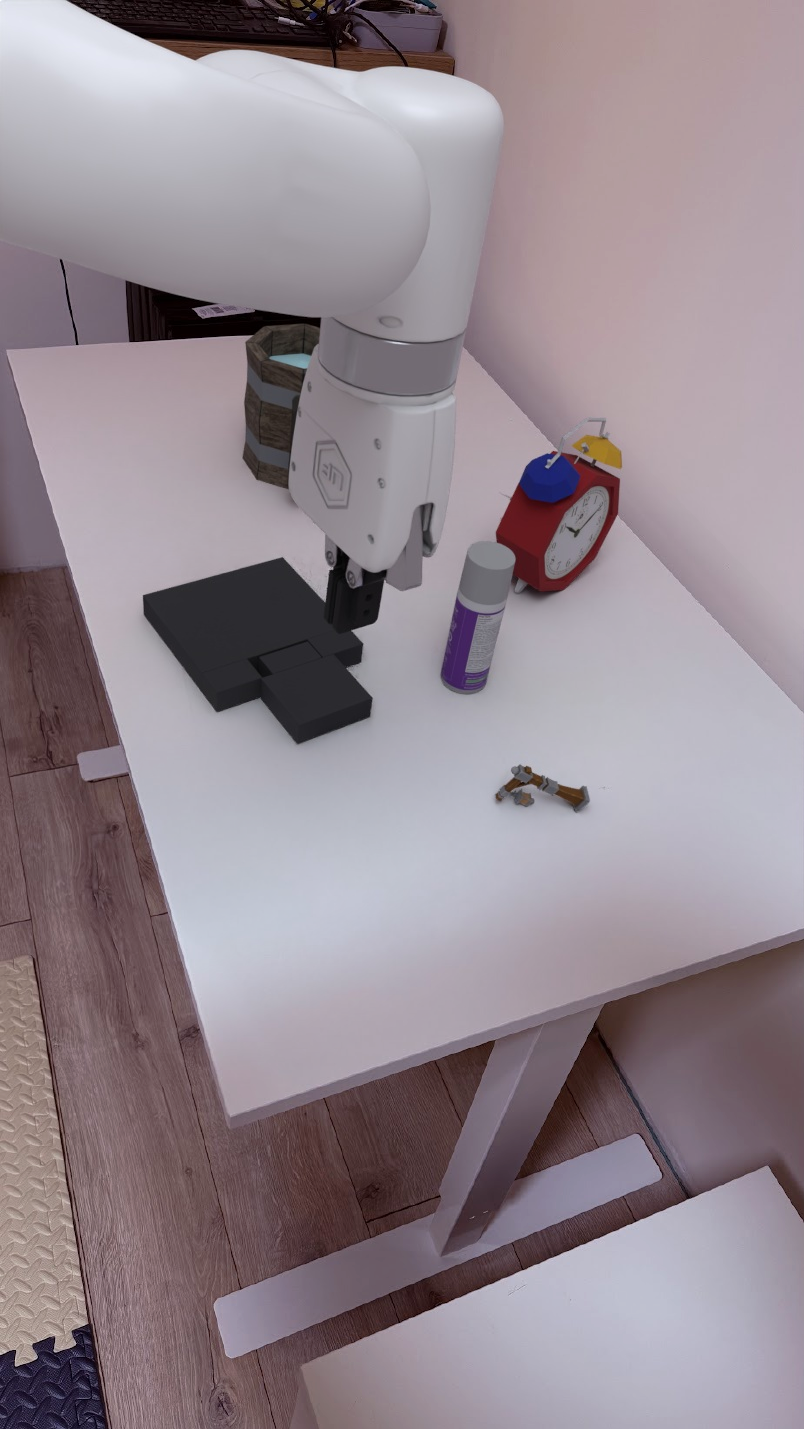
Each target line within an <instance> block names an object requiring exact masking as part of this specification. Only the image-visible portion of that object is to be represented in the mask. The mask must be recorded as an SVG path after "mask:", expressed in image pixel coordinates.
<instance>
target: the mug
mask: <svg viewBox="0 0 804 1429" xmlns="http://www.w3.org/2000/svg"><path fill="white" fill-rule="evenodd" d="M319 336H320V327H318V326H315V325H311V324H308V323H294V324H281V325H280V324H278V325H265V326H263V327H261V328H260V329H259V330H258V331H257V332H255V333H254V334H253V335H252V336H251V337H249V338H248V339H247V340H245V342H244V343H245V352H246V354H245V355H246V362H247V363H246V366H247V367H246V384H245V393H244V399H243V400H244V401H243V406H244V420H245V436H244V437H245V438H244V444H243V445H244V446H243V451H242V452H243V453H242V460H243V461H244V463H245V465H246V466H247V467H248V469H249V470H250V472H251V473H252V475H253V476H254V478H255V479H256V480H258V481H260V482H263V483H267V484H272V485H274V486H277V487H280V488H284V489H287V490H289V469H290V460H291V451H292V443H293V436H294V429H295V423H296V417H297V411H298V405H299V400H300V395H301V391H302V386H303V382H304V378H305V375H306V371H307V368H308V364H309V361H310V358H311V356H312V353H313V350H314V347H315V346H316V345H317V344H319Z"/></svg>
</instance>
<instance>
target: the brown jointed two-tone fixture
mask: <svg viewBox="0 0 804 1429" xmlns="http://www.w3.org/2000/svg"><path fill="white" fill-rule="evenodd" d="M510 772H511V774H512V775H513V777H512V778H511V779H510V780H509V781H508V782H507V783H505V784H503V785H502V786H501V787H500V788H499V790H498V791H497V792H496V793H495V795H494V796H495V800H496V801H499V802H502V801H503V800H504V799H505V798H508V797H509V796H511V798H512V799H514V800H515V805H518V804H521V805H523V806H525V808H527V807H528V806H529V805H533V804H534V803H535V798H533V797H532V793H531V792H525V791H523V788H522V787H525V786H530V785H533V786H534V787H536V788H537V790H538V791H541V792H543V793H546V794H549V795H550V796H554V795H555V796H556V797H559V798H561V799H563V800H564V801H567V802H568V803H570V804H571V805H573V810H574V812H577V813H579V812H580V811H581V810H583V808H584V807H586V806H587V805H588V804H589V803H590V802H591V797H590V794H589V791H588V790H589V789H588V787H587V785H581V786H580V787H579V788H575V787H571V786H567V785H562V784H560V783H558V781H557V780H554V779H551V778H550V777H549V776H546V775H543V774H542V775H539V774H537V773H535V772H533V769H532V767H531V766H529V765H525V766H524V765H522V764H521V763H520V764H518V765H517V766H512V767H511V769H510ZM518 788H520V789H519V790H518V791H517V790H516V789H518Z"/></svg>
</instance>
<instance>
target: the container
mask: <svg viewBox="0 0 804 1429" xmlns="http://www.w3.org/2000/svg"><path fill="white" fill-rule="evenodd" d="M515 560H516V559H515V555H514V553H513V552H512V551H511V550H510V549H509V548H507V547H506V546H504V545H502V544H499V543H497V541H489V540H481V541H477V542H474V543H472V544H470V545H469V546H468V548H467V551H466V554H465V560H464V563H463V567H462V570H461V576H460V580H459V585H458V588H457V592H456V597H455V600H454V606H453V612H452V616H451V621H450V624H449V625H450V626H449V629H448V630H449V631H448V636H447V641H446V645H445V649H444V656H443V660H442V665H441V670H440V680H441V682H442V684H443V685H444V686H445V687H446V688H447V689H449V690H450V691H453V692H455V693H459V694H462V695H471V694H476V693H479V692H480V691H482V690H483V689H484V688H485V687H486V684H487V681H488V677H489V673H490V670H491V669H490V668H491V665H492V661H493V656H494V652H495V649H496V645H497V641H498V638H499V633H500V629H501V625H502V622H503V618H504V613H505V610H506V605H507V601H508V597H509V592H510V587H511V582H512V578H513V575H514V574H513V569H514V565H515Z"/></svg>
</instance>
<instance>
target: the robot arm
mask: <svg viewBox="0 0 804 1429" xmlns="http://www.w3.org/2000/svg"><path fill="white" fill-rule="evenodd" d="M504 134H505V121H504V113H503V111H502V108H501V106H500V103H499V102H498V101H497V99H496V98H495V97H494V95H493V94H492V93H491V92H490V91H488V90H486V89H485V88H484V87H482V86H480V85H479V84H476V83H474V82H472V81H470V80H467V79H466V78H465V79H464V78H461V77H459V76H455V75H452V74H449V73H444V72H439V71H435V70H430V69H425V68H418V67H409V66H392V65H391V66H381V67H380V66H379V67H374V68H370V69H368V70H363V71H355V70H349V69H343V68H337V67H331V66H326V65H320V64H315V63H310V62H306V61H301V60H297V59H293V58H288V57H285V56H280V55H277V54H272V53H267V52H264V51H263V52H262V51H258V50H252V49H251V50H250V49H227V50H220V51H219V50H218V51H215V52H212V53H208V54H207V55H204V56H201V57H199V58H197V59H192V58H190V57H187V56H185V55H182V54H180V53H178V52H175V51H173V50H170V49H168V48H165V47H164V46H161V45H158V44H156V43H153V42H151V41H149V40H147V39H144V38H142V37H140V36H138V35H135V34H134V33H131V32H130V31H127V30H125V29H123V28H121V27H119V26H116V25H114V24H112V23H110V22H108V21H106V20H104V19H102V18H100V17H98V16H96V15H94V14H92V13H91V12H88V11H86V10H85V9H83V8H81V7H79V6H77V5H76V4H74V3H72V2H70V1H69V0H0V242H3V243H5V244H8V245H12V246H16V247H20V248H23V249H26V250H29V251H34V252H36V253H40V254H44V255H47V256H49V257H53V258H56V259H60V260H62V261H66V262H69V263H72V264H75V265H78V266H81V267H84V268H87V269H90V270H92V271H96V272H99V273H101V274H102V273H103V274H105V275H109V276H110V277H111V276H112V277H114V278H118V279H119V280H123V281H127V282H131V283H134V284H137V285H140V286H143V287H147V288H150V289H155V290H157V291H161V292H165V293H169V294H172V295H176V296H181V297H185V298H189V299H194V300H199V301H203V302H208V303H213V304H217V305H224V306H230V307H236V308H245V309H248V310H249V309H251V310H255V311H256V310H257V311H262V312H271V313H278V314H284V315H291V316H295V317H296V316H297V317H304V318H305V317H307V318H320V327H319V328H320V336H319V344H317V345H316V346H315V347H314V350H313V353H312V356H311V358H310V361H309V364H308V368H307V371H306V375H305V378H304V382H303V386H302V391H301V395H300V400H299V405H298V411H297V417H296V423H295V429H294V436H293V443H292V451H291V460H290V469H289V489H288V491H289V494H290V496H291V498H292V500H293V502H294V503H295V504H296V505H297V507H298V508H299V509H300V510H301V511H302V512H303V513H304V514H305V515H306V517H308V519H310V520H311V521H312V522H313V523H314V524H315V525H316V527H318V529H320V531H322V533H323V534H324V535H325V536H324V558H325V561H326V562H325V563H326V564H327V565H328V566H329V567H330V568H332V569H330V570H329V571H328V577H327V586H326V594H325V601H324V602H325V609H324V619H325V620H326V622H327V623H328V624H333V626H332V627H333V629H334V630H335V631H336V632H337V633H338V634H342V633H345V632H348V631H355V630H358V629H361V628H364V627H367V626H371V625H373V624H375V623H376V622H377V621H378V619H379V615H380V614H379V613H380V609H381V603H382V597H383V591H384V586H385V585H384V584H385V583H386V584H388V585H390V587H393V588H394V589H396V590H398V591H400V592H406V591H409V590H413V589H415V588H418V587H421V586H422V584H423V561H424V560H423V557H424V558H432V557H433V556H434V555H435V554H436V551H437V549H438V547H439V544H440V541H441V538H442V534H443V530H444V526H445V521H446V516H447V510H448V506H449V499H450V492H451V486H452V478H453V469H454V458H455V448H456V447H455V446H456V434H457V432H456V430H457V397H456V396H455V394H454V390H455V388H456V384H457V380H458V373H459V368H460V364H461V359H462V353H463V348H464V344H465V343H464V342H465V339H466V334H467V329H468V328H467V327H468V324H469V318H470V312H471V307H472V303H473V298H474V292H475V287H476V284H477V278H478V277H477V276H478V272H479V267H480V261H481V257H482V251H483V246H484V241H485V236H486V231H487V225H488V222H489V221H488V220H489V215H490V212H491V211H490V210H491V206H492V200H493V194H494V190H495V185H496V179H497V174H498V168H499V163H500V159H501V153H502V148H503V141H504Z"/></svg>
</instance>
